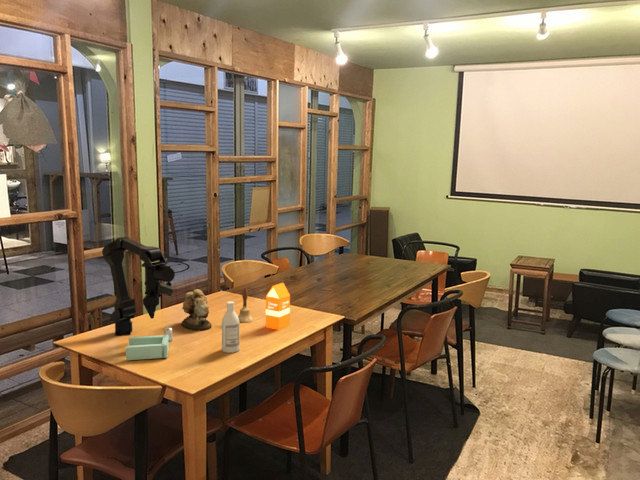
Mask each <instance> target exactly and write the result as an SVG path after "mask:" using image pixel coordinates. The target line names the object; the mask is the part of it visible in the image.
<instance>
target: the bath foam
mask: <svg viewBox="0 0 640 480" xmlns="http://www.w3.org/2000/svg"><path fill="white" fill-rule="evenodd" d="M238 316H239V315H238V314H237V313H236V311H235V302H234V301H227V302H226V312H225V313H224V314H223V317H222V318H221V350H222V352H223V353H227V354H230V353H231V354H232V353H237V352H238V351H240V322H239V318H238Z"/></svg>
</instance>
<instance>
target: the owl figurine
mask: <svg viewBox="0 0 640 480" xmlns="http://www.w3.org/2000/svg"><path fill="white" fill-rule="evenodd" d="M184 297H185V299H184V301H183V303H182V307H181V309H182V310H183V312H184V313H185V314H187V315H188V316H186V317H184V319H183V320H182V321H181V327H183V328H184V329H187V330H190V331H197V332H198V331H201V332H202V331H208V330H210V329H212V327H213V326H212V323H211V322H210V321H209V320H208V319H207V318H208V316H209V313H210V309H209V303H208V301H209V300H208V297H207V296H206V295H205V294H204V291H202V290H201V289H198V288H196V289H193V291H188V292H186V293H185V296H184Z"/></svg>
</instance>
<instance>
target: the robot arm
mask: <svg viewBox="0 0 640 480" xmlns="http://www.w3.org/2000/svg"><path fill="white" fill-rule="evenodd" d="M126 251H127V252H130V253H133V254H134V255H136V256H138V257H139V260H140V261H141V262H143V263H142V264H141V265H140V266H141V267H142V268H144V285H145V287H144V288H145V289H144V296H143V297H142V305H143V306H144V309H145V310H146V312H147V314H148V316H149V318H150V319H154V318H155V313H156V310H157V307H158V306H159V305H160V302H161V301H160V300H161V299H160V298H161V297H162V294H163V295H166V296H168V297H172V296H173V293H174V290H175V286H174V285H173V284H172V281H174V278H175V275H176V274H175V270H174V269H173V268H171V265H170V264H168V262H167V260H166V257H165V256H164V254H163V252H162V250H161V248H160V247H157V246H150V245H149V246H147V245H144V244H143V243H141V242H137V241H136V240H134V239H131V238H130V237H128V236H122V237H121V236H119V237H117V238H116V239H115V240H113V241H112V242H109V243H108V244H106V245H104V246H103V248H102V251H101V253H102V256H103V259H104V261H105V262H106V263H107V264H108V266H109V268H110V273H111V277H112V282H113V287H114V293H115V297H116V299H115V301H114V305H113V306H114V311H113V312H112V313H111V314H110V316H109V318H110V321H112V322H114V331H115V332H114V336H127V335H129V336H130V335H131V334H132V332H133V321H132V320H131V319H135V317H136V312H137V305H136V300H135V299H134V298H132V297H131V296H130V295H129V292H128V291H129V290H128V286H127V282H126V276H125V272H124V266H123V261H124V259H125V252H126ZM163 282H166V283H163Z"/></svg>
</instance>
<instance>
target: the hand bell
mask: <svg viewBox="0 0 640 480" xmlns="http://www.w3.org/2000/svg"><path fill="white" fill-rule="evenodd" d="M241 296H242V300H243V302H242V308H240V309H239V314H238V315H237V316H238V318H239V323H244V324H245V323H251V322H253V321H254V318H253V317H252V316H251V311H250V310H251V309H250V308H249V307H248V306H247V303H248V296H249V294H248V289H247V287H243V290H242V292H241Z"/></svg>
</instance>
